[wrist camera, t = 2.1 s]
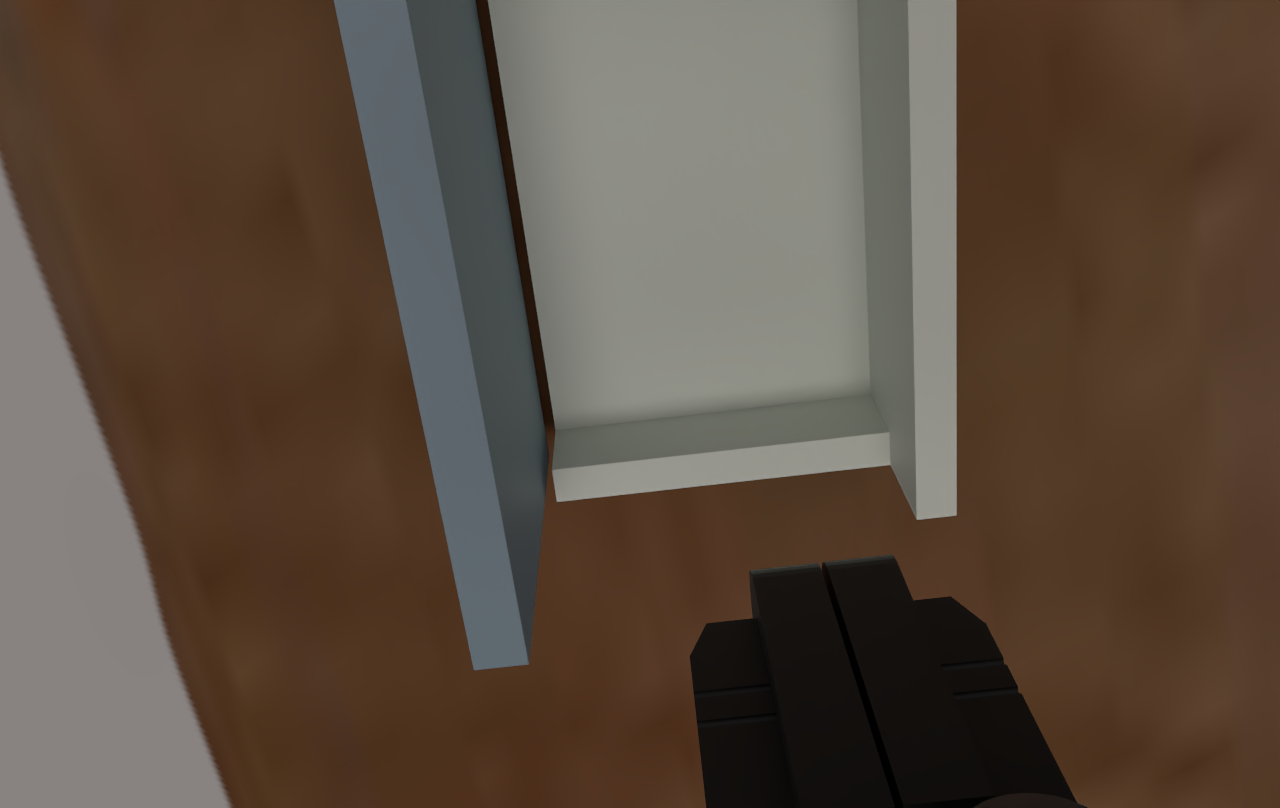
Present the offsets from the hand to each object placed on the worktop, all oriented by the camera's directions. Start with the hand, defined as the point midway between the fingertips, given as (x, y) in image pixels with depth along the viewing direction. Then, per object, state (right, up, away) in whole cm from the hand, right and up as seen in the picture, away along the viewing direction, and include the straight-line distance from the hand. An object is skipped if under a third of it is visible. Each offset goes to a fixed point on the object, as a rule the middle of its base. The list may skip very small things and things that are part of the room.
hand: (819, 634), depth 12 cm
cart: (0, +9, +20) cm, 22 cm away
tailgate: (-6, +8, +19) cm, 21 cm away
